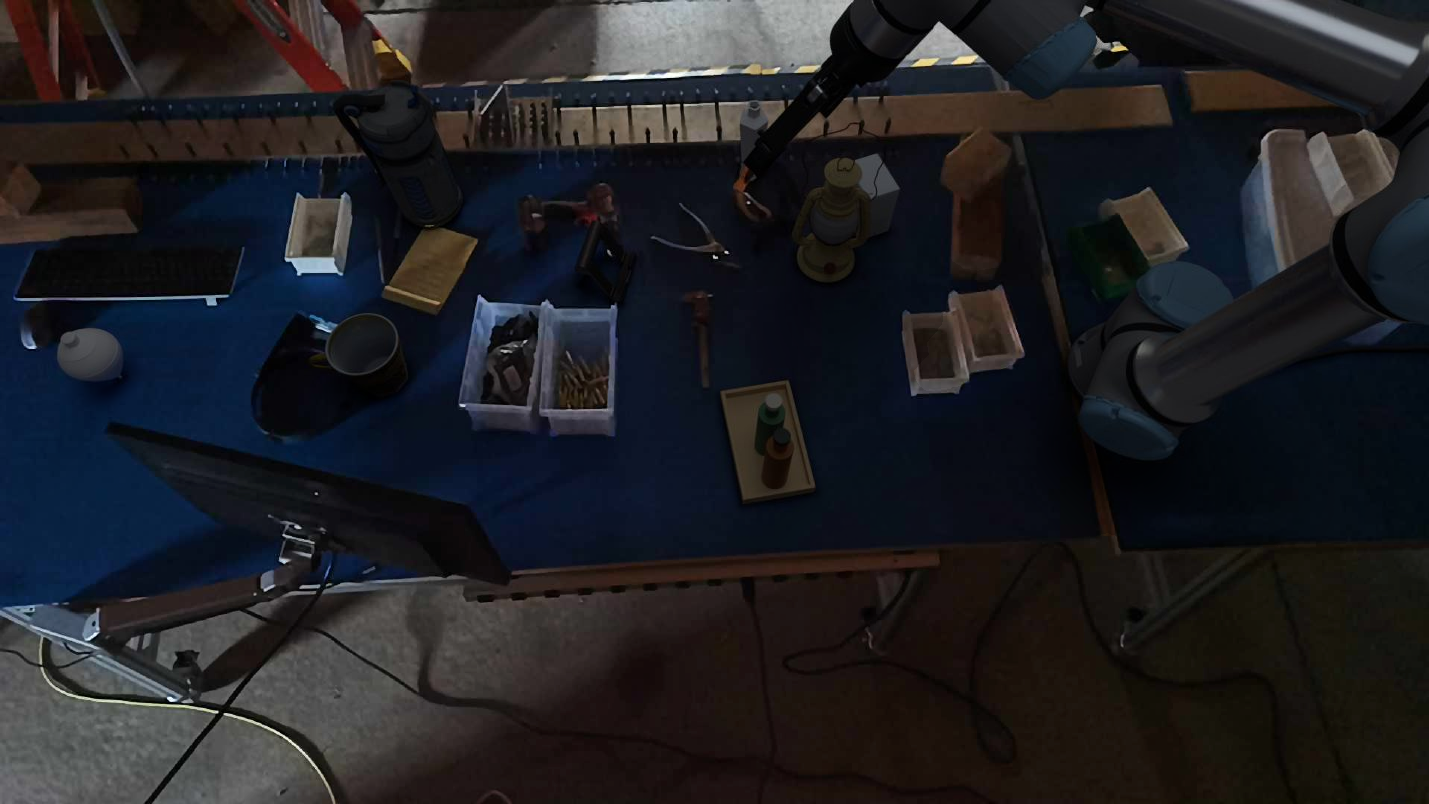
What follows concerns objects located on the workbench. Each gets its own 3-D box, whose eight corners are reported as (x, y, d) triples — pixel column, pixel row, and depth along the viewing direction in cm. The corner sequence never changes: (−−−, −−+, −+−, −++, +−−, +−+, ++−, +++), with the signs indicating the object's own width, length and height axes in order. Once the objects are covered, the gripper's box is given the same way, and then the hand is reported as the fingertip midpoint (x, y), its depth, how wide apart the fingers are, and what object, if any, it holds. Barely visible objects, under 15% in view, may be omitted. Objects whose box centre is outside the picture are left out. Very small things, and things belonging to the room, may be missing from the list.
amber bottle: (784, 463, 122) (793, 420, 109) (789, 487, 121) (799, 446, 108) (759, 467, 122) (765, 425, 109) (764, 491, 120) (771, 451, 107)
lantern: (788, 285, 136) (808, 152, 109) (787, 234, 140) (806, 94, 113) (864, 287, 136) (903, 154, 109) (861, 236, 140) (897, 96, 113)
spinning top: (90, 404, 126) (32, 365, 115) (98, 359, 129) (42, 317, 119) (144, 397, 127) (91, 358, 116) (151, 352, 130) (100, 309, 119)
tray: (787, 386, 128) (788, 379, 126) (814, 492, 121) (815, 487, 119) (720, 397, 127) (720, 390, 125) (742, 504, 120) (743, 499, 118)
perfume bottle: (761, 184, 145) (767, 118, 131) (736, 179, 145) (738, 113, 132) (766, 163, 147) (772, 96, 133) (741, 159, 147) (744, 92, 134)
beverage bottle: (389, 186, 144) (330, 68, 122) (469, 179, 145) (425, 61, 122) (386, 235, 140) (324, 122, 117) (468, 228, 140) (422, 115, 118)
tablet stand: (622, 305, 134) (617, 274, 127) (574, 295, 135) (566, 264, 127) (636, 259, 138) (632, 226, 130) (589, 250, 139) (582, 217, 131)
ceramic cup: (415, 341, 131) (393, 305, 122) (424, 397, 127) (402, 365, 118) (328, 362, 129) (299, 327, 120) (334, 420, 125) (305, 388, 116)
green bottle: (776, 431, 124) (784, 385, 111) (781, 454, 123) (790, 410, 110) (752, 435, 124) (757, 390, 111) (757, 458, 122) (763, 415, 109)
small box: (888, 232, 141) (901, 189, 131) (857, 242, 140) (868, 200, 130) (867, 195, 144) (878, 151, 135) (836, 205, 143) (845, 161, 134)
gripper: (922, -58, 89) (826, 63, 108) (777, 62, 79) (699, 172, 98) (970, -3, 90) (866, 108, 109) (833, 123, 79) (744, 220, 99)
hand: (787, 138), depth 104 cm, fingers open, 13 cm apart
